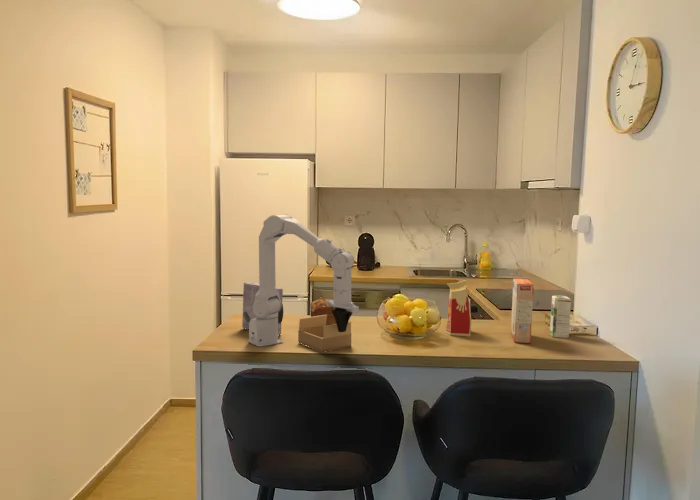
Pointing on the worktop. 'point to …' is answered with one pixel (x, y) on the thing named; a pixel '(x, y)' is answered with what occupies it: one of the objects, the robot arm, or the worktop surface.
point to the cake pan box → (249, 300)
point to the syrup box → (560, 316)
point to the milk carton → (458, 310)
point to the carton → (322, 340)
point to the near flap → (335, 331)
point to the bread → (323, 310)
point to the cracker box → (522, 310)
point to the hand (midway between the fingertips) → (342, 331)
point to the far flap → (312, 322)
